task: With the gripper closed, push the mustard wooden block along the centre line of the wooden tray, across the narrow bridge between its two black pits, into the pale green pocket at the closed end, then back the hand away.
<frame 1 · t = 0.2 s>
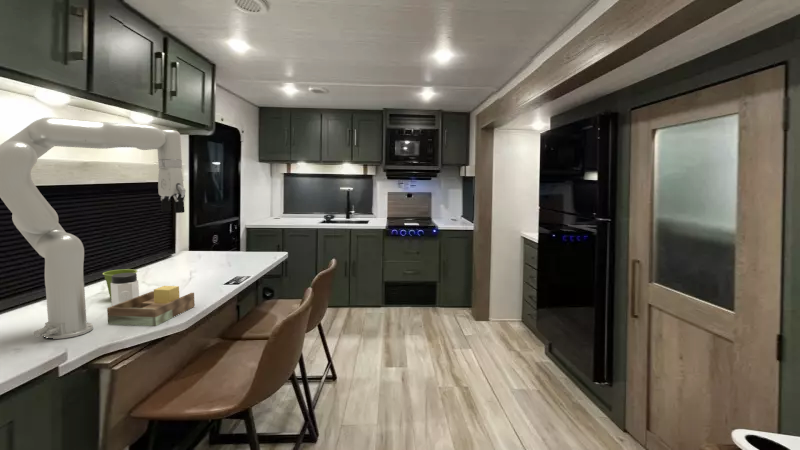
hand: (173, 212, 158), 37 cm above the counter, tool pointing down, fingers open, 9 cm apart
wooden tray: (142, 322, 146), on the counter
plant pot: (121, 299, 174), on the counter
block: (167, 301, 161), point 3 cm above the counter, touching wooden tray
jar: (125, 305, 166), on the counter
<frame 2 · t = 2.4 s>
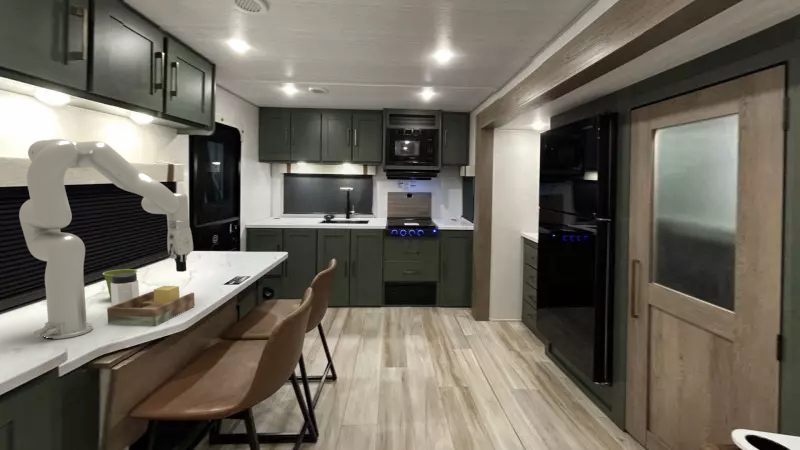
hand: (181, 271, 170), 12 cm above the counter, tool pointing down, fingers closed
nothing on the counter moved.
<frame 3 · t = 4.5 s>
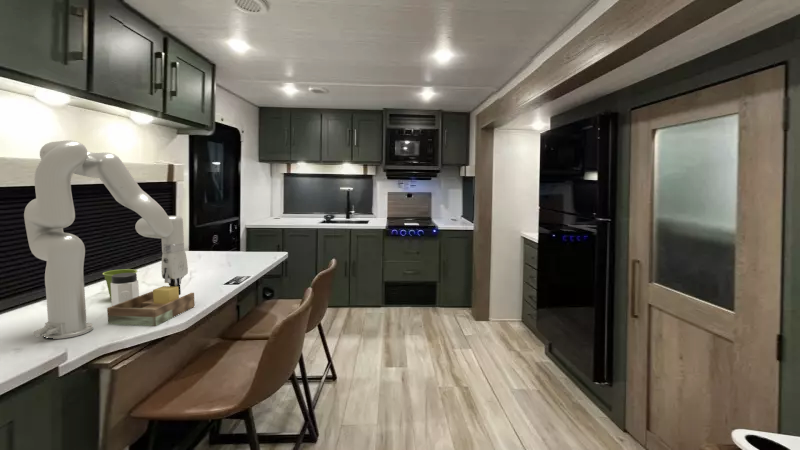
hand: (175, 295, 166), 4 cm above the counter, tool pointing down, fingers closed
block: (166, 301, 161), point 3 cm above the counter, touching gripper
everything else where it was.
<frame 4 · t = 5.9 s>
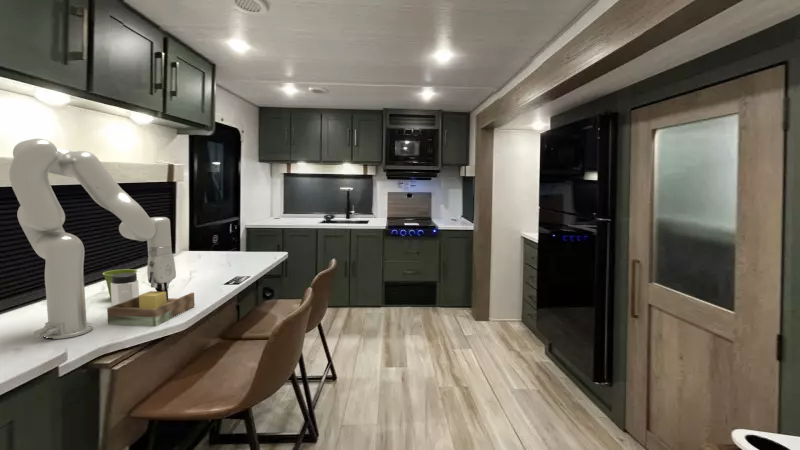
hand: (162, 300, 159), 4 cm above the counter, tool pointing down, fingers closed
block: (153, 307, 153), point 3 cm above the counter, touching gripper
everything else where it was.
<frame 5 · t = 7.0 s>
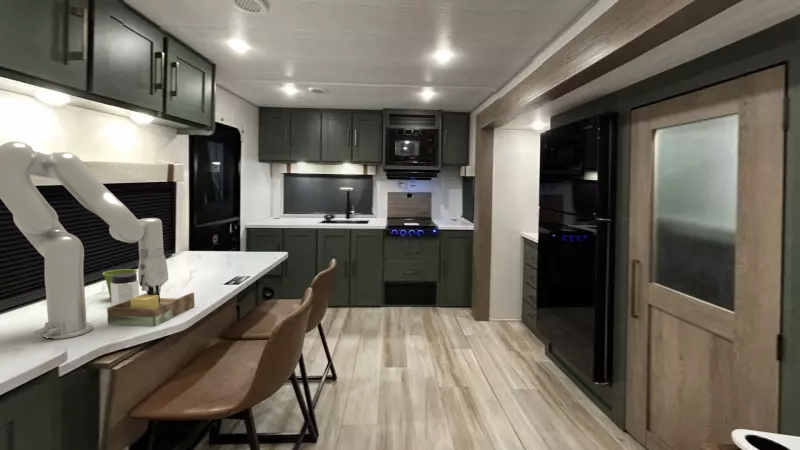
hand: (154, 303, 154), 4 cm above the counter, tool pointing down, fingers closed
block: (145, 311, 149), point 3 cm above the counter, touching wooden tray, gripper
everything else where it was.
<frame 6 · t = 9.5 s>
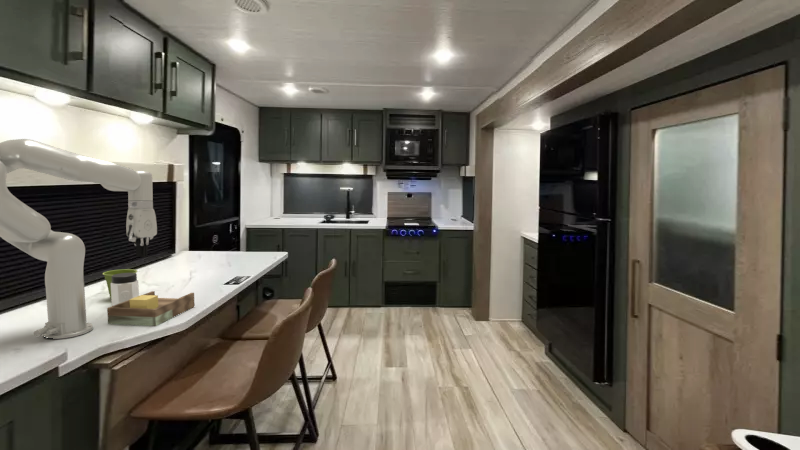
hand: (141, 256, 156), 21 cm above the counter, tool pointing down, fingers closed
block: (144, 311, 148), point 3 cm above the counter, touching wooden tray
everything else where it was.
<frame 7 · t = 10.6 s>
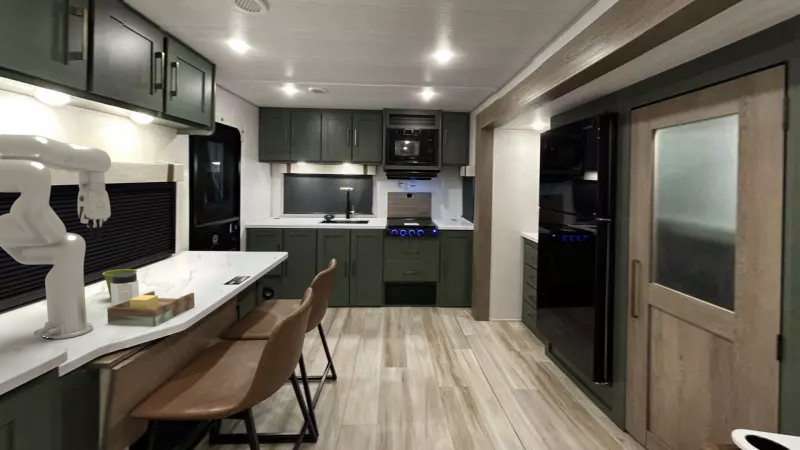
hand: (95, 237, 156), 27 cm above the counter, tool pointing down, fingers closed
nothing on the counter moved.
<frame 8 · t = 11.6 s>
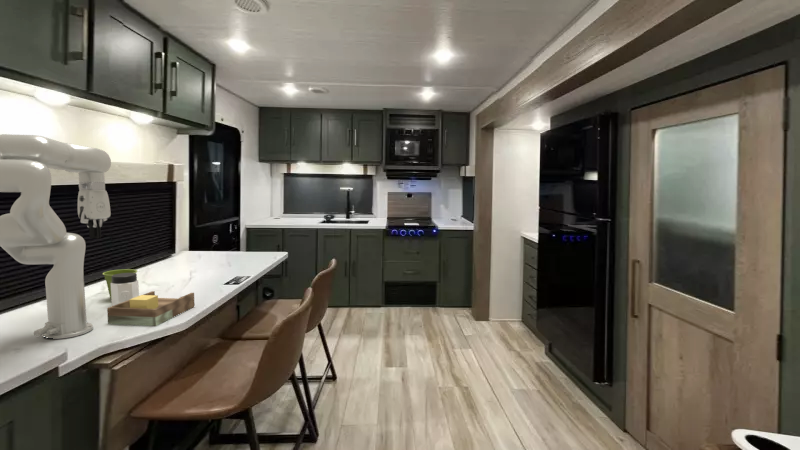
hand: (95, 238, 156), 27 cm above the counter, tool pointing down, fingers closed
nothing on the counter moved.
at the end: block inside the target area (0.8 cm from its centre), point 3.0 cm above the counter; block tilted 0° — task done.
